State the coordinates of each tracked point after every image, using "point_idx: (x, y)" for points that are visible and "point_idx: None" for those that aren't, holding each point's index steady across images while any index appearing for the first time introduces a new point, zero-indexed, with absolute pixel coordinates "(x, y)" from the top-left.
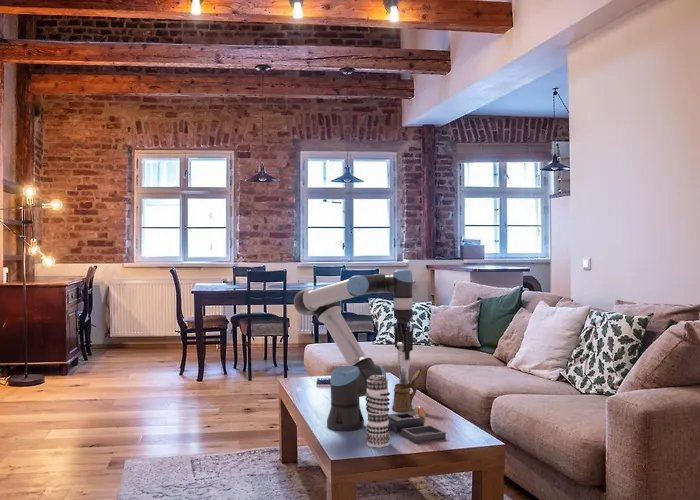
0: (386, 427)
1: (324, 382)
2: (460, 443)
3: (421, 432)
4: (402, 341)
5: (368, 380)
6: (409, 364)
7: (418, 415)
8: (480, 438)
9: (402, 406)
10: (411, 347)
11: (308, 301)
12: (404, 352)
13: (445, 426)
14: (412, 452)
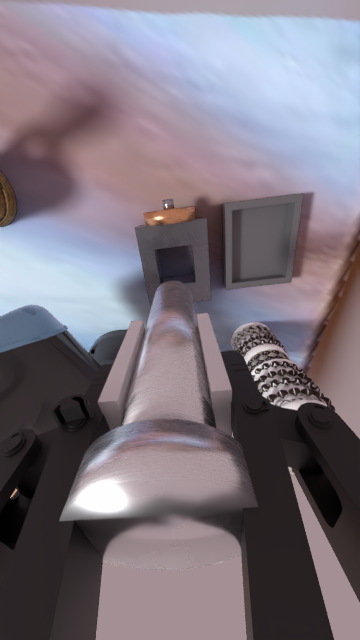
0: (283, 349)
1: None
2: (344, 171)
3: (236, 240)
4: (81, 537)
5: None
6: (211, 324)
7: (182, 225)
8: (346, 74)
9: (1, 203)
10: (354, 452)
11: None
12: (230, 423)
13: (191, 133)
14: (327, 302)
